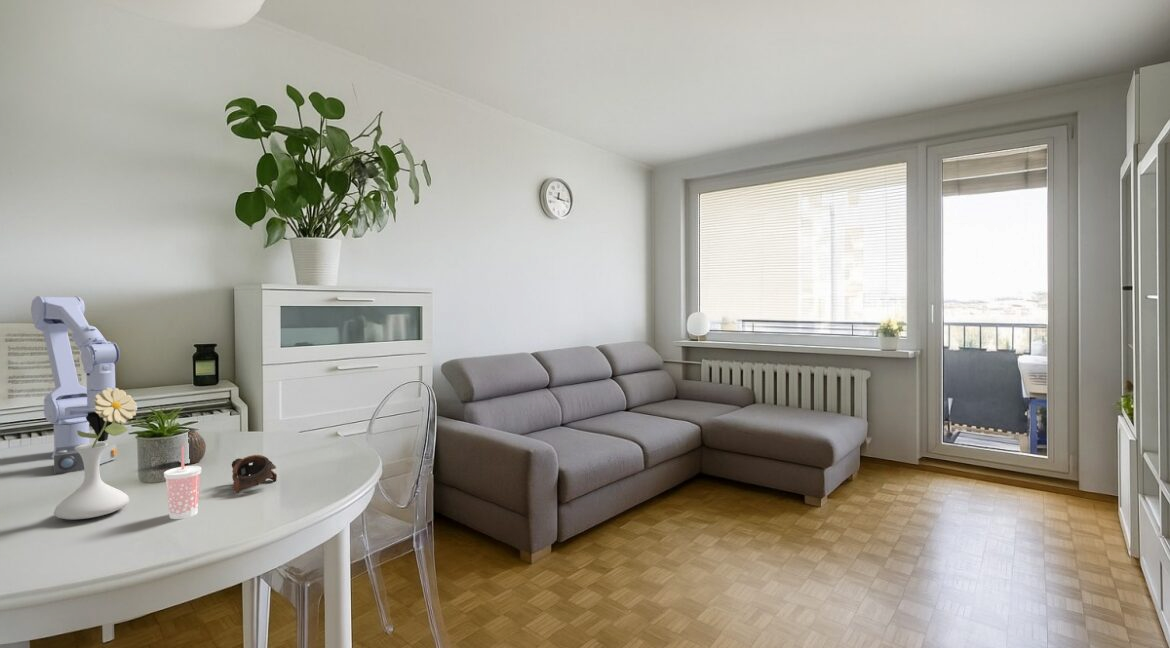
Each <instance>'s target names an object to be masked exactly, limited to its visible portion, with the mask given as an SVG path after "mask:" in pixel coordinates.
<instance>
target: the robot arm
mask: <svg viewBox="0 0 1170 648" xmlns="http://www.w3.org/2000/svg"><path fill="white" fill-rule="evenodd" d="M85 311H86V305H85V302H84V300H83V299H82V298H81V297H80V296H41V295H40V296H39V295H37V296H35V297H34V298H33V300H32V302H31V305H30V313H31V318H32V322H33V324H34V328H35V329H36V330H39V331H41V332H42V334H43V338H44V341H45V342H44V343H45V345H46V352H47V356H48V360H49V365H50V369H51V374H52V379H53V383H54V389H53V390H52V391H50V392H49V393H48V394H47V395H46V396H45V397H44V399H43V405H44V408H43V414H44V417H45V419H46V421H47V422H49V423H50V424H52V425H53V440H54V441H53V445H54V446H53V447H54V448H53V449H54V450H53V452H52V455H51V459H54V454H55V451H56V448H57V447H65V446H74V445H82V444H90V443H91V442H90V439H91V438H86V437H81V436H79V435H78V433H77V430H78V431H81V432H85V433H90V426H91V427H92V429H93V431H94V434H96V435H97V437H98V435H99V433H100V432H101V430H102V428H103V426H104V423H105V421H104V420H103V417H100V416H99V414H97V413H95V406H94V403H96V402H95V401H94V398H95V396H96V395H97V394H102V391H103V390H106V388H110V389H112V390H114V389H115V388H117V387H116V364H118V363H119V360H120V356H121V353H120V348H119V346H118V344H117V343H116V342H111V341H109V340H108V341H107V340H106V338H105V337H104V336H103V334H102V333H101V331H100V330H99V329H98V328H97V327H96V326H94V325H90V324H89V323H88V321H87V319H86V317H85V315H84V314H85ZM69 331H72V334H71V339H72V340H73V342H74V344H75V345H76V346H77V348H78V349H79V350H80V360H81V363H82V366H83V372H84V373H85V374H86V377H85V378H86V387H85V386H83V385H81V384H80V382H79V377H78V374H77V373H78V372H77V369H76V364H75V360H74V355H73V351H72V346H71V341H70V337H69V334H68V332H69ZM135 406H137V407H138V403H136V405H135ZM134 411H135V412H136V411H138V408H137V409H136V410H134ZM111 424H113V423H112V422H109V421H107V423H106V426H105V428H106V427H107V426H109V425H111ZM109 435H110V434H109V433H107V432H106V431H105V430H104V431H103V432H102V434H101V436H100V437H99V439H98V440H97V443H100V442H106V441H107V440H108V438H109Z"/></svg>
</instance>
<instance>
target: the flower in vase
mask: <svg viewBox="0 0 1170 648" xmlns="http://www.w3.org/2000/svg"><path fill="white" fill-rule="evenodd" d="M132 397H133V396H131V395H130V394H127V392H126V391H125V390H124V389H120V388H118V387H116V388H115V389H114V390H112V389H110V388H106V390H103V391H102V394H97V395H96V396H95V398H94V401H95V402H96V403H94V406H95V413H97V414H99V416H100V417H103V420H104V421H105V423H104V426H103V428H102V430H101V432H100V433H99V435H98V437H97V435H96V434H95V433H90V432H89V433H85V432H81V431H78V430H77V433H78V435H79V436H81V437H86V438H90V439H95V440H94V441H93V442H92V443H91V442H90V444H84V445H79V446H76V447H75V448H74V449H75V450H76V451H78V452H79V454H80V455H81V457H82V460H83V463H84V470H83V471H84V478H83V481H82V484H81V485H80V486H79V487H78V488H77V489H76V490H75V491H73V492H72V493H71V494H69V495H68V496H67V497H65V498H64V499H63V500H62V501H61V502H59V504H58V505H56V507H55V508H54V511H53V515H54V516H55V517H56V518H58V519H62V520H85V519H91V518H92V519H93V518H97V517H102V516H104V515H108V514H111V513H114V512H116V511H119V510H120V509H122V508H125V507H126V506H127V505H128V504H129V502H130V497H129V496H128V494H127V493H125V492H123V491H122V490H120V489H118V488H115V487H113V486H112V485H109V484H107V483H105V482H104V481H103V480H102V478H101V475H100V474H101V473H100V466H101V464H100V458H101V455H102V452H103V450H104V449H105V447H106V446H109V445H108V443H107V442H98V439H99V437H100V436H101V434H102V432H103V431H104V430H105V431H106V432H107V433H109V434H108V435H110V436H113V437H116V436H118V435H122V434H124V433H126V432H127V431H128V430H129V429H128V428H127V427H125V426H124V425H123V424H126V423H127V422H128V419H129V420H131V419H133V417H135V416H137V413H136V411H134V410H136V409H137V410H138V405H137V406H135V405H136V404H137V403H136V401H135V400H134V399H133V398H132ZM107 421H109V422H112V424H111V425H109V426H107V427H106V428H105V426H106V423H107Z"/></svg>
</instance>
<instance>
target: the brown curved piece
mask: <svg viewBox="0 0 1170 648" xmlns="http://www.w3.org/2000/svg"><path fill="white" fill-rule="evenodd" d="M231 467H232V481H233V482H232V483H233V484H232V490H233V491H234V492H235V493H237V494H239V493H240V491H241V490H244V489H248V488H252V487H256V486H258V485H259V483H260V484H261V483H263V482H265V481H266V480H271V481H274V482H277V478H278V477H277V476H278V475H277V473H276V472H275V471H273V470H274V469H277V466H276V465H275V464H274V463H273V461H271V460H270V459H269V458H268V457H266V456H265V455H262V454H261V455H260V454H253V455H248V456H245V457H243V458H240V457H238V458H236V459H235V460H233V461H232V463H231Z"/></svg>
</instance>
